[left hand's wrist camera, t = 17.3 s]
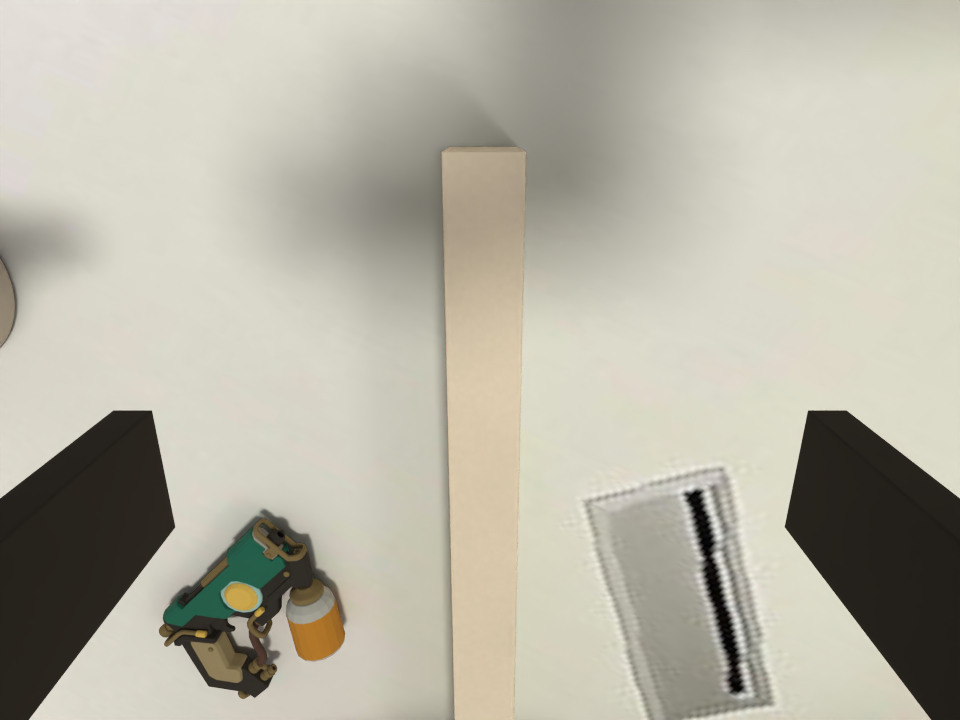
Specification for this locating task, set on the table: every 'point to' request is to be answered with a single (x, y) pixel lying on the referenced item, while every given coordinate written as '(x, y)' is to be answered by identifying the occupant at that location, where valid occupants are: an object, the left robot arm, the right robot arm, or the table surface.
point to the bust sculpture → (5, 304)
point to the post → (483, 416)
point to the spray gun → (254, 611)
